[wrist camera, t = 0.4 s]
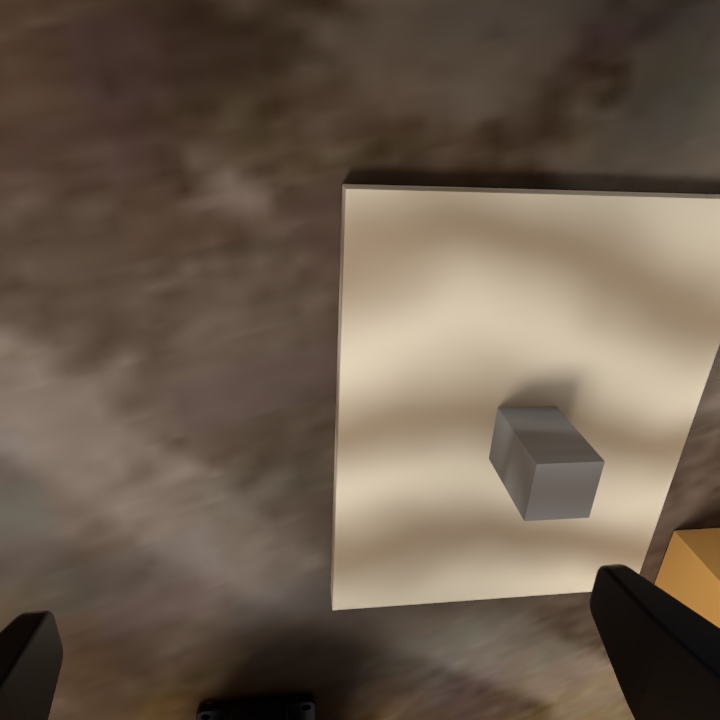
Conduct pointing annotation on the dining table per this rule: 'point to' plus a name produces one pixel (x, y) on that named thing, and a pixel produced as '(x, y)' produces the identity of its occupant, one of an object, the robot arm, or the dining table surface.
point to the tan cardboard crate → (694, 571)
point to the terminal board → (512, 384)
